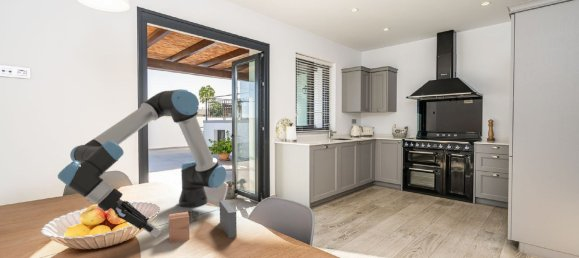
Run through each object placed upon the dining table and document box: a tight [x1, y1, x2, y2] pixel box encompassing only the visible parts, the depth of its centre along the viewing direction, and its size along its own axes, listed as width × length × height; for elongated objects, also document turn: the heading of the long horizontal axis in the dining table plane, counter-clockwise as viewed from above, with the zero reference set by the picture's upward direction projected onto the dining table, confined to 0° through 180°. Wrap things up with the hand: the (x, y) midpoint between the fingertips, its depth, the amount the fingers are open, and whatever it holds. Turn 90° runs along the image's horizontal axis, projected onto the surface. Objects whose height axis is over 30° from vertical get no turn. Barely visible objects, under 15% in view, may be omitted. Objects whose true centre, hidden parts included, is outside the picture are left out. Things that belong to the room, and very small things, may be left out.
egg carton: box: [185, 208, 201, 223], centre depth 125 cm, size 11×8×4 cm
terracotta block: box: [168, 211, 190, 244], centre depth 107 cm, size 6×7×9 cm
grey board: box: [219, 199, 238, 239], centre depth 115 cm, size 18×3×10 cm, turn 25°
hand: (158, 234), depth 103 cm, fingers closed
